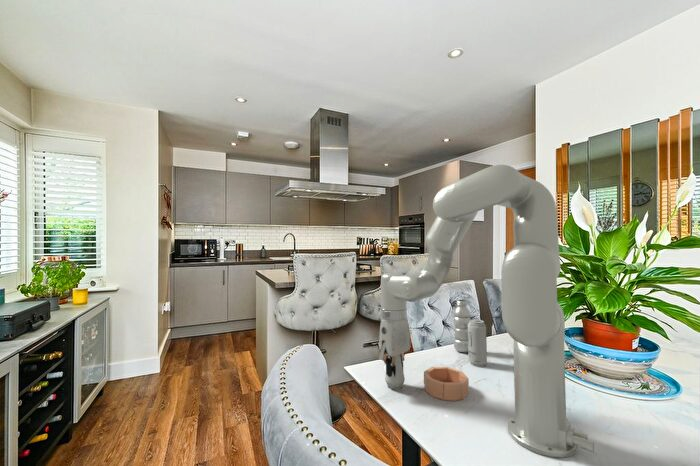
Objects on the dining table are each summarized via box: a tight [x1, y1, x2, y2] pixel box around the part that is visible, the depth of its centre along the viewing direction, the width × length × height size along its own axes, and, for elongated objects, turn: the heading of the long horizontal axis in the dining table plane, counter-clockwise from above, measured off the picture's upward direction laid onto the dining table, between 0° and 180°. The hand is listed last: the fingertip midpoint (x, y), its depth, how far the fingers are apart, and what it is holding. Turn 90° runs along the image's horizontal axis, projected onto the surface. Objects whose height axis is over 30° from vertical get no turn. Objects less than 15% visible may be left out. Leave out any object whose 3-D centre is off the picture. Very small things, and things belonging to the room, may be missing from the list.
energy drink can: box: [467, 318, 488, 368], centre depth 106 cm, size 6×6×15 cm
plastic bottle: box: [452, 299, 472, 353], centre depth 118 cm, size 6×7×20 cm
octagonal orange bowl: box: [423, 366, 470, 402], centre depth 87 cm, size 12×12×4 cm
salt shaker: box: [384, 355, 405, 391], centre depth 89 cm, size 6×6×13 cm
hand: (394, 375), depth 89 cm, fingers closed on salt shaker, 3 cm apart
